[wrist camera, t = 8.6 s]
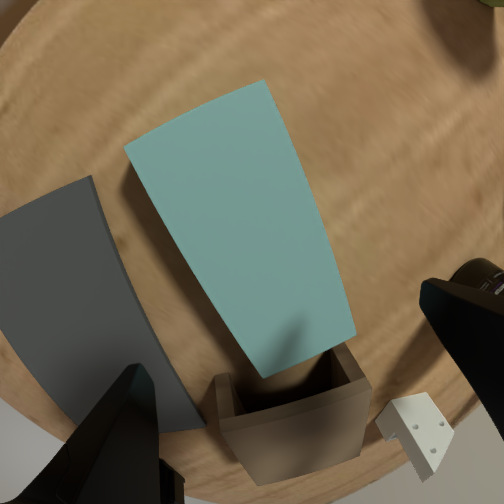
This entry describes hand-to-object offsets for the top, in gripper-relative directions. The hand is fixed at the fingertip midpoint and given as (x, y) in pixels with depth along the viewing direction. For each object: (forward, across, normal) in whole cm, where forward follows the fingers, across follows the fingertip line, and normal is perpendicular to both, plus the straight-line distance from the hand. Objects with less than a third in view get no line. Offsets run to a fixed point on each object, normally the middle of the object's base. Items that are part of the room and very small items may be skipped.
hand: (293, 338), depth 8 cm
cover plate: (+8, 0, 0) cm, 8 cm away
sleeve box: (+8, 0, +14) cm, 16 cm away
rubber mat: (+8, +13, +4) cm, 16 cm away
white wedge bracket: (+8, -12, +23) cm, 28 cm away
